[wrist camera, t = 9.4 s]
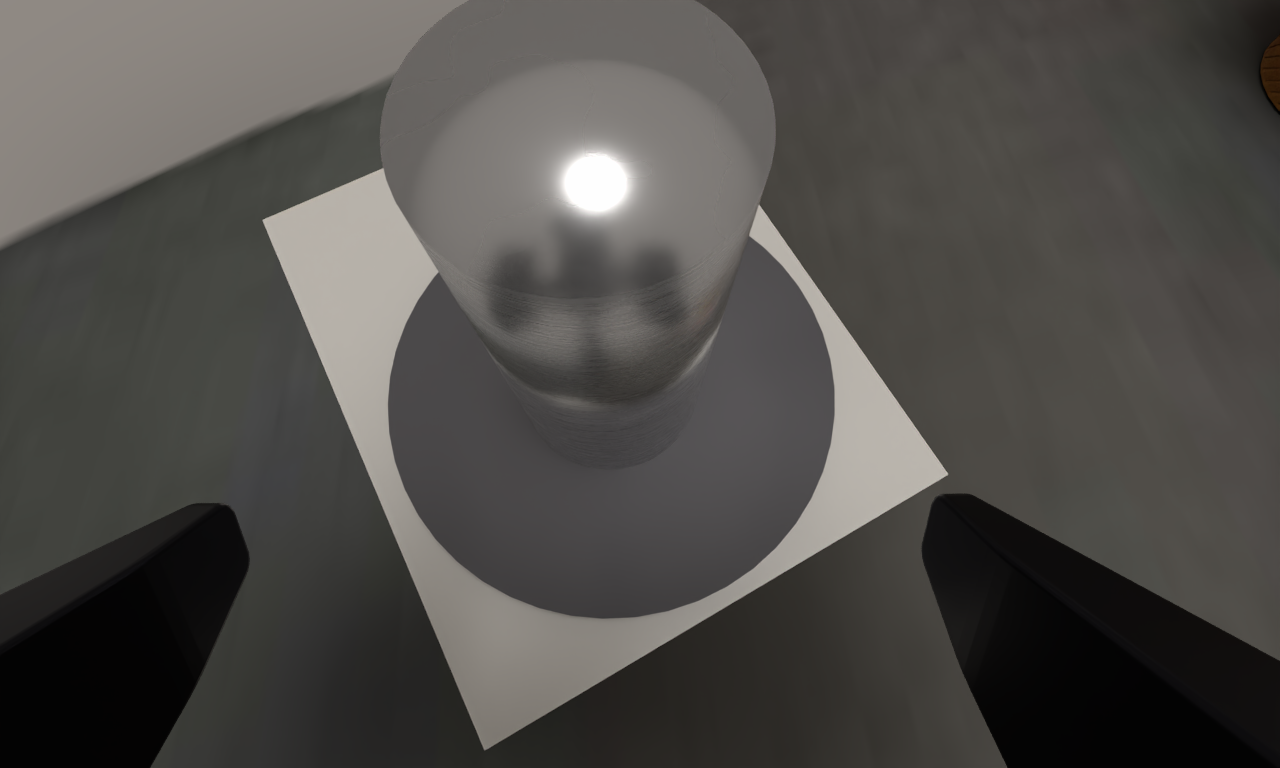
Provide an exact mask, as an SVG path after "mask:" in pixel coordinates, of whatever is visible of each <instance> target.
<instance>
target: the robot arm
mask: <svg viewBox="0 0 1280 768" xmlns="http://www.w3.org/2000/svg"><path fill="white" fill-rule="evenodd" d="M922 559H923V563H924V566H925V569H926V572H927V575H928V577H929V580H930V583H931V586H932V589H933V592H934V594H935V597H936V600H937V603H938V606H939V609H940V611H941V614H942V617H943V620H944V623H945V626H946V628H947V631H948V634H949V637H950V640H951V643H952V645H953V648H954V651H955V654H956V657H957V659H958V662H959V664H960V667H961V669H962V672H963V674H964V677H965V679H966V681H967V683H968V685H969V688H970V690H971V692H972V694H973V696H974V698H975V701H976V703H977V705H978V707H979V709H980V711H981V713H982V715H983V717H984V719H985V721H986V724H987V726H988V728H989V730H990V732H991V734H992V736H993V738H994V740H995V742H996V745H997V747H998V749H999V751H1000V753H1001V755H1002V757H1003V759H1004V761H1005V763H1006V765H1007V768H1280V661H1279V660H1277V659H1275V658H1273V657H1271V656H1270V655H1268V654H1266V653H1264V652H1262V651H1260V650H1259V649H1257V648H1255V647H1253V646H1251V645H1249V644H1247V643H1246V642H1244V641H1242V640H1240V639H1238V638H1236V637H1234V636H1233V635H1231V634H1229V633H1227V632H1225V631H1223V630H1221V629H1220V628H1218V627H1216V626H1214V625H1212V624H1210V623H1209V622H1207V621H1205V620H1203V619H1201V618H1199V617H1197V616H1196V615H1194V614H1192V613H1190V612H1188V611H1186V610H1184V609H1183V608H1181V607H1179V606H1177V605H1175V604H1173V603H1171V602H1170V601H1168V600H1166V599H1164V598H1162V597H1160V596H1159V595H1157V594H1155V593H1153V592H1151V591H1149V590H1147V589H1146V588H1144V587H1142V586H1140V585H1138V584H1136V583H1134V582H1133V581H1131V580H1129V579H1127V578H1125V577H1123V576H1121V575H1120V574H1118V573H1116V572H1114V571H1112V570H1110V569H1109V568H1107V567H1105V566H1103V565H1101V564H1099V563H1097V562H1096V561H1094V560H1092V559H1090V558H1088V557H1086V556H1084V555H1083V554H1081V553H1079V552H1077V551H1075V550H1073V549H1072V548H1070V547H1068V546H1066V545H1064V544H1062V543H1060V542H1059V541H1057V540H1055V539H1053V538H1051V537H1049V536H1047V535H1046V534H1044V533H1042V532H1040V531H1038V530H1036V529H1035V528H1033V527H1031V526H1029V525H1027V524H1025V523H1023V522H1022V521H1020V520H1018V519H1016V518H1014V517H1012V516H1010V515H1009V514H1007V513H1005V512H1003V511H1001V510H999V509H998V508H996V507H994V506H992V505H990V504H988V503H986V502H985V501H983V500H981V499H979V498H977V497H975V496H973V495H971V494H940V495H938V496H936V497H935V499H934V500H933V502H932V505H931V509H930V513H929V517H928V521H927V525H926V529H925V533H924V537H923V542H922ZM249 562H250V558H249V551H248V548H247V545H246V543H245V540H244V537H243V534H242V531H241V529H240V526H239V523H238V520H237V517H236V515H235V512H234V510H233V509H232V508H231V507H230V506H229V505H227V504H224V503H196V504H191V505H188V506H186V507H184V508H182V509H180V510H178V511H175V512H173V513H171V514H169V515H167V516H165V517H163V518H161V519H159V520H157V521H154V522H152V523H150V524H148V525H146V526H144V527H142V528H140V529H138V530H135V531H133V532H131V533H129V534H127V535H125V536H123V537H121V538H119V539H117V540H114V541H112V542H110V543H108V544H106V545H104V546H102V547H100V548H98V549H95V550H93V551H91V552H89V553H87V554H85V555H83V556H81V557H79V558H77V559H74V560H72V561H70V562H68V563H66V564H64V565H62V566H60V567H58V568H55V569H53V570H51V571H49V572H47V573H45V574H43V575H41V576H39V577H37V578H34V579H32V580H30V581H28V582H26V583H24V584H22V585H20V586H18V587H15V588H13V589H11V590H9V591H7V592H5V593H3V594H1V595H0V768H150V767H151V765H152V764H153V762H154V760H155V758H156V757H157V755H158V753H159V751H160V750H161V748H162V746H163V744H164V742H165V741H166V739H167V737H168V735H169V734H170V732H171V730H172V728H173V727H174V725H175V723H176V721H177V720H178V718H179V716H180V714H181V713H182V711H183V709H184V707H185V706H186V704H187V702H188V700H189V698H190V696H191V694H192V693H193V691H194V689H195V687H196V685H197V683H198V681H199V679H200V677H201V675H202V673H203V671H204V669H205V667H206V664H207V662H208V660H209V658H210V655H211V653H212V651H213V649H214V646H215V644H216V642H217V640H218V638H219V635H220V633H221V631H222V629H223V626H224V624H225V622H226V620H227V617H228V615H229V613H230V611H231V608H232V606H233V604H234V602H235V599H236V597H237V595H238V593H239V590H240V588H241V586H242V584H243V582H244V579H245V577H246V575H247V572H248V568H249Z"/></svg>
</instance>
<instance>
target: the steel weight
mask: <svg viewBox="0 0 1280 768" xmlns="http://www.w3.org/2000/svg"><path fill="white" fill-rule="evenodd" d="M775 133H776V121H775V114H774V107H773V101H772V97H771V94H770V91H769V87H768V84H767V81H766V79H765V77H764V75H763V73H762V70H761V68H760V66H759V64H758V62H757V61H756V59H755V58H754V56H753V55H752V53H751V52H750V50H749V49H748V47H747V45H746V44H745V43H744V42H743V41H742V40H741V39H740V37H739V36H738V35H737V34H736V33H735V32H734V30H733V29H732V28H731V27H729V26H728V25H727V24H726V23H725V22H724V21H723V20H722V19H720V18H719V17H718V16H717V15H716V14H714V13H713V12H712V11H710V10H709V9H707V8H706V7H704V6H703V5H701V4H700V3H698V2H697V1H695V0H469V1H467V2H465V3H464V4H462V5H460V6H459V7H457V8H455V9H454V10H453V11H451V12H450V13H449V14H447V15H446V16H445V17H444V18H442V19H441V20H439V21H438V22H437V23H436V24H435V25H434V26H433V27H432V28H431V29H430V30H429V31H428V32H426V34H424V36H422V37H421V38H420V40H419V41H418V42H417V43H416V45H415V46H414V47H413V48H412V50H411V51H410V52H409V53H408V55H407V56H406V58H405V59H404V61H403V63H402V64H401V66H400V68H399V69H398V71H397V73H396V74H395V77H394V79H393V81H392V84H391V86H390V88H389V91H388V93H387V97H386V100H385V104H384V108H383V112H382V118H381V128H380V148H381V160H382V164H383V168H384V173H385V177H386V181H387V183H388V185H389V188H390V190H391V193H392V195H393V198H394V200H395V202H396V204H397V205H398V207H399V209H400V210H401V212H402V214H403V215H404V217H405V219H406V220H407V222H408V223H409V225H410V227H411V228H412V230H413V231H414V233H415V235H416V236H417V238H418V240H419V241H420V243H421V244H422V246H423V248H424V249H425V251H426V252H427V254H428V256H429V257H430V259H431V260H432V262H433V264H434V265H435V267H436V269H437V270H438V272H439V273H440V275H441V277H442V278H443V280H444V281H445V283H446V285H447V286H448V288H449V289H450V291H451V293H452V294H453V296H454V298H455V299H456V301H457V302H458V304H459V306H460V307H461V309H462V310H463V312H464V314H465V315H466V317H467V318H468V320H469V322H470V323H471V325H472V327H473V328H474V330H475V331H476V333H477V335H478V336H479V338H480V339H481V341H482V343H483V344H484V346H485V347H486V349H487V351H488V352H489V354H490V356H491V357H492V359H493V360H494V362H495V364H496V365H497V367H498V368H499V370H500V372H501V373H502V375H503V376H504V378H505V380H506V381H507V383H508V384H509V386H510V388H511V389H512V391H513V393H514V394H515V396H516V397H517V399H518V401H519V402H520V404H521V405H522V407H523V409H524V410H525V412H526V413H527V415H528V417H529V418H530V420H531V422H532V423H533V425H534V426H535V428H536V430H537V431H538V433H539V434H540V436H541V437H542V438H543V439H544V440H545V442H546V443H547V444H548V445H549V446H550V447H551V448H553V449H554V450H555V451H556V452H558V453H559V454H560V455H562V456H563V457H565V458H567V459H569V460H571V461H573V462H575V463H577V464H580V465H583V466H586V467H591V468H595V469H606V470H611V469H623V468H629V467H633V466H636V465H639V464H642V463H645V462H647V461H649V460H651V459H653V458H655V457H656V456H658V455H659V454H661V453H662V452H664V451H665V450H666V449H667V448H668V447H670V446H671V445H672V444H673V443H674V442H675V440H676V439H677V438H678V437H679V436H680V434H681V433H682V431H683V430H684V429H685V427H686V425H687V423H688V421H689V419H690V417H691V414H692V411H693V408H694V405H695V402H696V399H697V396H698V393H699V390H700V386H701V383H702V380H703V377H704V374H705V371H706V368H707V365H708V362H709V358H710V355H711V352H712V349H713V346H714V343H715V340H716V337H717V333H718V330H719V327H720V324H721V321H722V318H723V315H724V312H725V309H726V305H727V302H728V299H729V296H730V293H731V290H732V287H733V284H734V281H735V277H736V274H737V271H738V268H739V265H740V262H741V259H742V256H743V253H744V249H745V246H746V243H747V240H748V237H749V234H750V231H751V228H752V225H753V221H754V218H755V215H756V212H757V209H758V206H759V203H760V200H761V197H762V193H763V190H764V187H765V184H766V181H767V178H768V175H769V172H770V169H771V165H772V159H773V154H774V149H775Z"/></svg>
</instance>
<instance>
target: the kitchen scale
mask: <svg viewBox="0 0 1280 768" xmlns="http://www.w3.org/2000/svg"><path fill="white" fill-rule="evenodd" d="M263 223H264V225H265V228H266V230H267V232H268V235H269V237H270V239H271V242H272V244H273V247H274V249H275V251H276V254H277V256H278V259H279V261H280V263H281V266H282V268H283V271H284V273H285V275H286V278H287V280H288V282H289V285H290V287H291V290H292V292H293V294H294V297H295V299H296V302H297V304H298V306H299V309H300V311H301V314H302V316H303V318H304V321H305V323H306V325H307V328H308V330H309V333H310V335H311V337H312V340H313V342H314V345H315V347H316V349H317V352H318V354H319V357H320V359H321V361H322V364H323V366H324V368H325V371H326V373H327V376H328V378H329V380H330V383H331V385H332V388H333V390H334V392H335V395H336V397H337V400H338V402H339V404H340V407H341V409H342V411H343V414H344V416H345V419H346V421H347V423H348V426H349V428H350V431H351V433H352V435H353V438H354V440H355V442H356V445H357V447H358V450H359V452H360V454H361V457H362V459H363V462H364V464H365V466H366V469H367V471H368V474H369V476H370V478H371V481H372V483H373V485H374V488H375V490H376V493H377V495H378V497H379V500H380V502H381V505H382V507H383V509H384V512H385V514H386V517H387V519H388V521H389V524H390V526H391V528H392V531H393V533H394V536H395V538H396V540H397V543H398V545H399V548H400V550H401V552H402V555H403V557H404V560H405V562H406V564H407V567H408V569H409V571H410V574H411V576H412V579H413V581H414V583H415V586H416V588H417V591H418V593H419V595H420V598H421V600H422V603H423V605H424V607H425V610H426V612H427V614H428V617H429V619H430V622H431V624H432V626H433V629H434V631H435V634H436V636H437V638H438V641H439V643H440V645H441V648H442V650H443V653H444V655H445V657H446V660H447V662H448V665H449V667H450V669H451V672H452V674H453V677H454V679H455V681H456V684H457V686H458V688H459V691H460V693H461V696H462V698H463V700H464V703H465V705H466V708H467V710H468V712H469V715H470V717H471V720H472V722H473V724H474V727H475V729H476V731H477V734H478V736H479V739H480V741H481V743H482V746H483V748H484V751H485V750H486V749H488V748H490V747H492V746H493V745H495V744H497V743H498V742H500V741H502V740H503V739H505V738H507V737H508V736H510V735H512V734H513V733H515V732H517V731H518V730H520V729H522V728H523V727H525V726H527V725H528V724H530V723H532V722H533V721H535V720H537V719H539V718H540V717H542V716H544V715H545V714H547V713H549V712H550V711H552V710H554V709H555V708H557V707H559V706H560V705H562V704H564V703H565V702H567V701H569V700H570V699H572V698H574V697H575V696H577V695H579V694H581V693H582V692H584V691H586V690H587V689H589V688H591V687H592V686H594V685H596V684H597V683H599V682H601V681H602V680H604V679H606V678H607V677H609V676H611V675H612V674H614V673H616V672H617V671H619V670H621V669H622V668H624V667H626V666H628V665H629V664H631V663H633V662H634V661H636V660H638V659H639V658H641V657H643V656H644V655H646V654H648V653H649V652H651V651H653V650H654V649H656V648H658V647H659V646H661V645H663V644H664V643H666V642H668V641H669V640H671V639H673V638H675V637H676V636H678V635H680V634H681V633H683V632H685V631H686V630H688V629H690V628H691V627H693V626H695V625H696V624H698V623H700V622H701V621H703V620H705V619H706V618H708V617H710V616H711V615H713V614H715V613H716V612H718V611H720V610H722V609H723V608H725V607H727V606H728V605H730V604H732V603H733V602H735V601H737V600H738V599H740V598H742V597H743V596H745V595H747V594H748V593H750V592H752V591H753V590H755V589H757V588H758V587H760V586H762V585H764V584H765V583H767V582H769V581H770V580H772V579H774V578H775V577H777V576H779V575H780V574H782V573H784V572H785V571H787V570H789V569H790V568H792V567H794V566H795V565H797V564H799V563H800V562H802V561H804V560H805V559H807V558H809V557H811V556H812V555H814V554H816V553H817V552H819V551H821V550H822V549H824V548H826V547H827V546H829V545H831V544H832V543H834V542H836V541H837V540H839V539H841V538H842V537H844V536H846V535H847V534H849V533H851V532H852V531H854V530H856V529H858V528H859V527H861V526H863V525H864V524H866V523H868V522H869V521H871V520H873V519H874V518H876V517H878V516H879V515H881V514H883V513H884V512H886V511H888V510H889V509H891V508H893V507H894V506H896V505H898V504H899V503H901V502H903V501H905V500H906V499H908V498H910V497H911V496H913V495H915V494H916V493H918V492H920V491H921V490H923V489H925V488H926V487H928V486H930V485H931V484H933V483H935V482H936V481H938V480H940V479H941V478H943V477H945V476H947V475H948V473H947V472H946V470H945V469H944V467H943V466H942V465H941V463H940V462H939V460H938V459H937V457H936V456H935V455H934V453H933V452H932V450H931V449H930V448H929V446H928V445H927V443H926V442H925V440H924V439H923V438H922V436H921V435H920V433H919V432H918V430H917V429H916V428H915V426H914V425H913V423H912V422H911V420H910V419H909V418H908V416H907V415H906V413H905V412H904V410H903V409H902V408H901V406H900V405H899V403H898V402H897V400H896V399H895V398H894V396H893V395H892V393H891V392H890V391H889V389H888V388H887V386H886V385H885V383H884V382H883V381H882V379H881V378H880V376H879V375H878V373H877V372H876V371H875V369H874V368H873V366H872V365H871V363H870V362H869V361H868V359H867V358H866V356H865V355H864V353H863V352H862V351H861V349H860V348H859V346H858V345H857V344H856V342H855V341H854V339H853V338H852V336H851V335H850V334H849V332H848V331H847V329H846V328H845V326H844V325H843V324H842V322H841V321H840V319H839V318H838V316H837V315H836V314H835V312H834V311H833V309H832V308H831V306H830V305H829V304H828V302H827V301H826V299H825V298H824V296H823V295H822V294H821V292H820V291H819V289H818V288H817V287H816V285H815V284H814V282H813V281H812V279H811V278H810V277H809V275H808V274H807V272H806V271H805V269H804V268H803V267H802V265H801V264H800V262H799V261H798V259H797V258H796V257H795V255H794V254H793V252H792V251H791V249H790V248H789V247H788V245H787V244H786V242H785V241H784V240H783V238H782V237H781V235H780V234H779V232H778V231H777V230H776V228H775V227H774V225H773V224H772V222H771V221H770V220H769V218H768V217H767V215H766V214H765V212H764V211H763V210H762V208H761V207H760V205H759V206H758V209H757V212H756V215H755V218H754V221H753V225H752V228H751V231H750V234H749V237H748V240H747V243H746V246H745V249H744V253H743V256H742V259H741V262H740V265H739V268H738V271H737V274H736V277H735V281H734V284H733V287H732V290H731V293H730V296H729V299H728V302H727V305H726V309H725V312H724V315H723V318H722V321H721V324H720V327H719V330H718V333H717V337H716V340H715V343H714V346H713V349H712V352H711V355H710V358H709V362H708V365H707V368H706V371H705V374H704V377H703V380H702V383H701V386H700V390H699V393H698V396H697V399H696V402H695V405H694V408H693V411H692V414H691V417H690V419H689V421H688V423H687V425H686V427H685V429H684V430H683V431H682V433H681V434H680V436H679V437H678V438H677V439H676V440H675V442H674V443H673V444H672V445H671V446H670V447H668V448H667V449H666V450H665V451H664V452H662V453H661V454H659V455H658V456H656V457H655V458H653V459H651V460H649V461H647V462H645V463H642V464H639V465H636V466H633V467H629V468H623V469H611V470H606V469H595V468H591V467H586V466H583V465H580V464H577V463H575V462H573V461H571V460H569V459H567V458H565V457H563V456H562V455H560V454H559V453H558V452H556V451H555V450H554V449H553V448H551V447H550V446H549V445H548V444H547V443H546V442H545V440H544V439H543V438H542V437H541V436H540V434H539V433H538V431H537V430H536V428H535V426H534V425H533V423H532V422H531V420H530V418H529V417H528V415H527V413H526V412H525V410H524V409H523V407H522V405H521V404H520V402H519V401H518V399H517V397H516V396H515V394H514V393H513V391H512V389H511V388H510V386H509V384H508V383H507V381H506V380H505V378H504V376H503V375H502V373H501V372H500V370H499V368H498V367H497V365H496V364H495V362H494V360H493V359H492V357H491V356H490V354H489V352H488V351H487V349H486V347H485V346H484V344H483V343H482V341H481V339H480V338H479V336H478V335H477V333H476V331H475V330H474V328H473V327H472V325H471V323H470V322H469V320H468V318H467V317H466V315H465V314H464V312H463V310H462V309H461V307H460V306H459V304H458V302H457V301H456V299H455V298H454V296H453V294H452V293H451V291H450V289H449V288H448V286H447V285H446V283H445V281H444V280H443V278H442V277H441V275H440V273H439V272H438V270H437V269H436V267H435V265H434V264H433V262H432V260H431V259H430V257H429V256H428V254H427V252H426V251H425V249H424V248H423V246H422V244H421V243H420V241H419V240H418V238H417V236H416V235H415V233H414V231H413V230H412V228H411V227H410V225H409V223H408V222H407V220H406V219H405V217H404V215H403V214H402V212H401V210H400V209H399V207H398V205H397V204H396V202H395V200H394V198H393V195H392V193H391V190H390V188H389V185H388V183H387V181H386V177H385V173H384V168H383V169H380V170H378V171H376V172H373V173H371V174H369V175H366V176H364V177H362V178H359V179H357V180H355V181H352V182H350V183H348V184H345V185H343V186H341V187H338V188H336V189H334V190H331V191H329V192H327V193H324V194H322V195H320V196H317V197H315V198H313V199H310V200H308V201H306V202H303V203H301V204H299V205H296V206H294V207H292V208H289V209H287V210H285V211H282V212H280V213H278V214H275V215H273V216H271V217H268V218H266V219H264V220H263Z"/></svg>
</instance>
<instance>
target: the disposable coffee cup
mask: <svg viewBox="0 0 1280 768" xmlns="http://www.w3.org/2000/svg"><path fill="white" fill-rule="evenodd" d="M1261 77H1262V82H1263V86H1264V88H1265V90H1266V92H1267V94H1268V97H1269V98H1270V99H1271V101H1272V102H1273V104H1274V105H1275V107H1276V108H1277V109H1278V110H1279V111H1280V35H1279V36H1278V37H1277V38H1276V39H1275V40H1274V41H1273V42H1272V43H1271V44H1270V45H1269V46H1268V48H1267V49H1266V51H1265V52H1264V55H1263V59H1262V62H1261Z"/></svg>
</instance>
